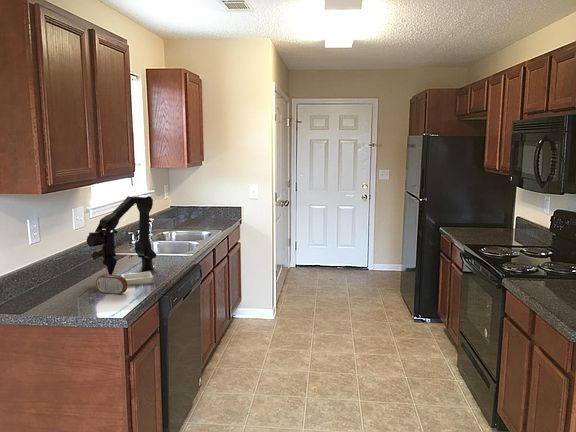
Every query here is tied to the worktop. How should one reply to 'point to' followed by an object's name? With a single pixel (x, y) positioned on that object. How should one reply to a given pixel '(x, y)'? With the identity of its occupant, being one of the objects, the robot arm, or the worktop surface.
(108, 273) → the cream block
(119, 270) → the worktop surface
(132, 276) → the tray
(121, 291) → the tin
